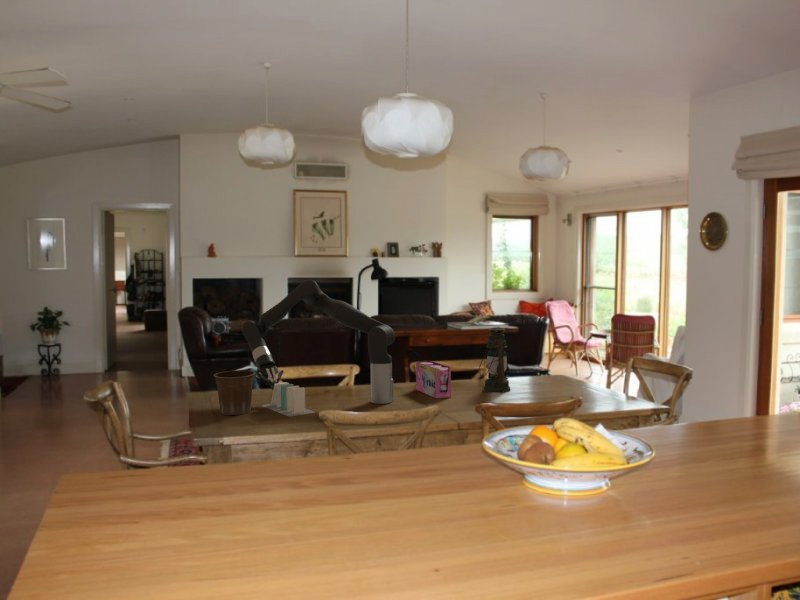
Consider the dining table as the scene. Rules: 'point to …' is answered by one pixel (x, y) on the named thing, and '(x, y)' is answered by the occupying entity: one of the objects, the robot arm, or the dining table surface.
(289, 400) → the domino
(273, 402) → the domino
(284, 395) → the teal tile
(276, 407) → the pale grey flat board
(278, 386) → the domino
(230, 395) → the plant pot
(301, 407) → the domino
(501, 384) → the lantern
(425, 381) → the gum box
